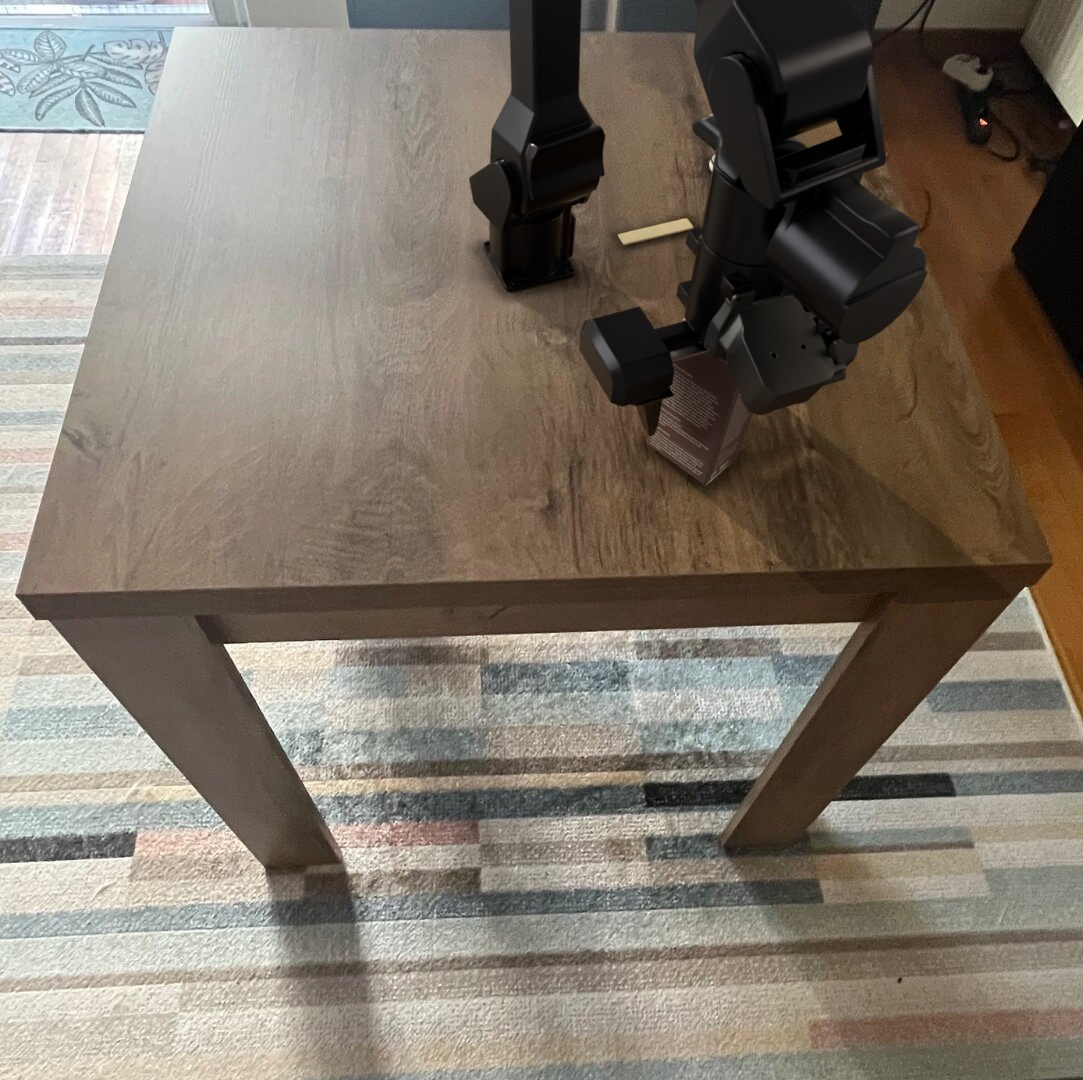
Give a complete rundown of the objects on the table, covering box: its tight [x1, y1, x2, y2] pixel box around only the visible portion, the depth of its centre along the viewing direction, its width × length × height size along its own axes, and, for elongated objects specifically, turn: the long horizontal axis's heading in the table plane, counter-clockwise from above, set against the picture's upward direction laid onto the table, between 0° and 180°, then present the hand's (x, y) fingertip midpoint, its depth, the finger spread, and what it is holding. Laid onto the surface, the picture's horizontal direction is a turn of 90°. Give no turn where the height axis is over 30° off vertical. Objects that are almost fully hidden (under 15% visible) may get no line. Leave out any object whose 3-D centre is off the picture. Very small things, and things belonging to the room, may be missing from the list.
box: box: [646, 317, 754, 486], centre depth 67 cm, size 6×4×12 cm
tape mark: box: [617, 217, 695, 246], centre depth 86 cm, size 7×1×1 cm, turn 112°
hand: (705, 414), depth 68 cm, fingers open, 9 cm apart
